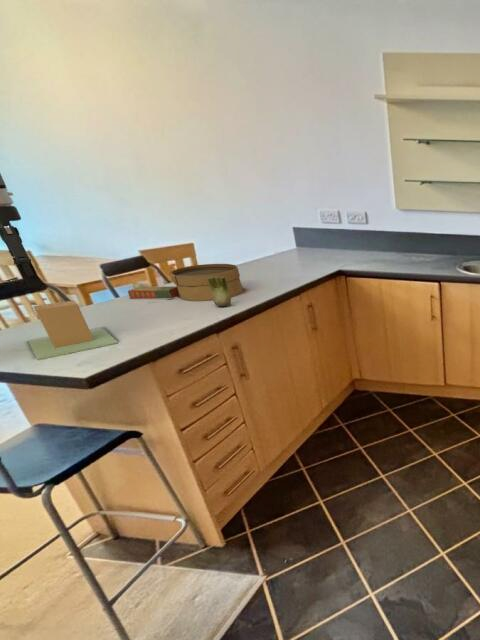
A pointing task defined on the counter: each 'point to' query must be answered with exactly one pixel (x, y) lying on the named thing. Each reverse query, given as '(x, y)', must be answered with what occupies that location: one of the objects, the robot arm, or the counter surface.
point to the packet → (64, 323)
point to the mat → (48, 350)
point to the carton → (153, 292)
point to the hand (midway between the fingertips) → (32, 283)
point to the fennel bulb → (220, 292)
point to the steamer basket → (205, 280)
